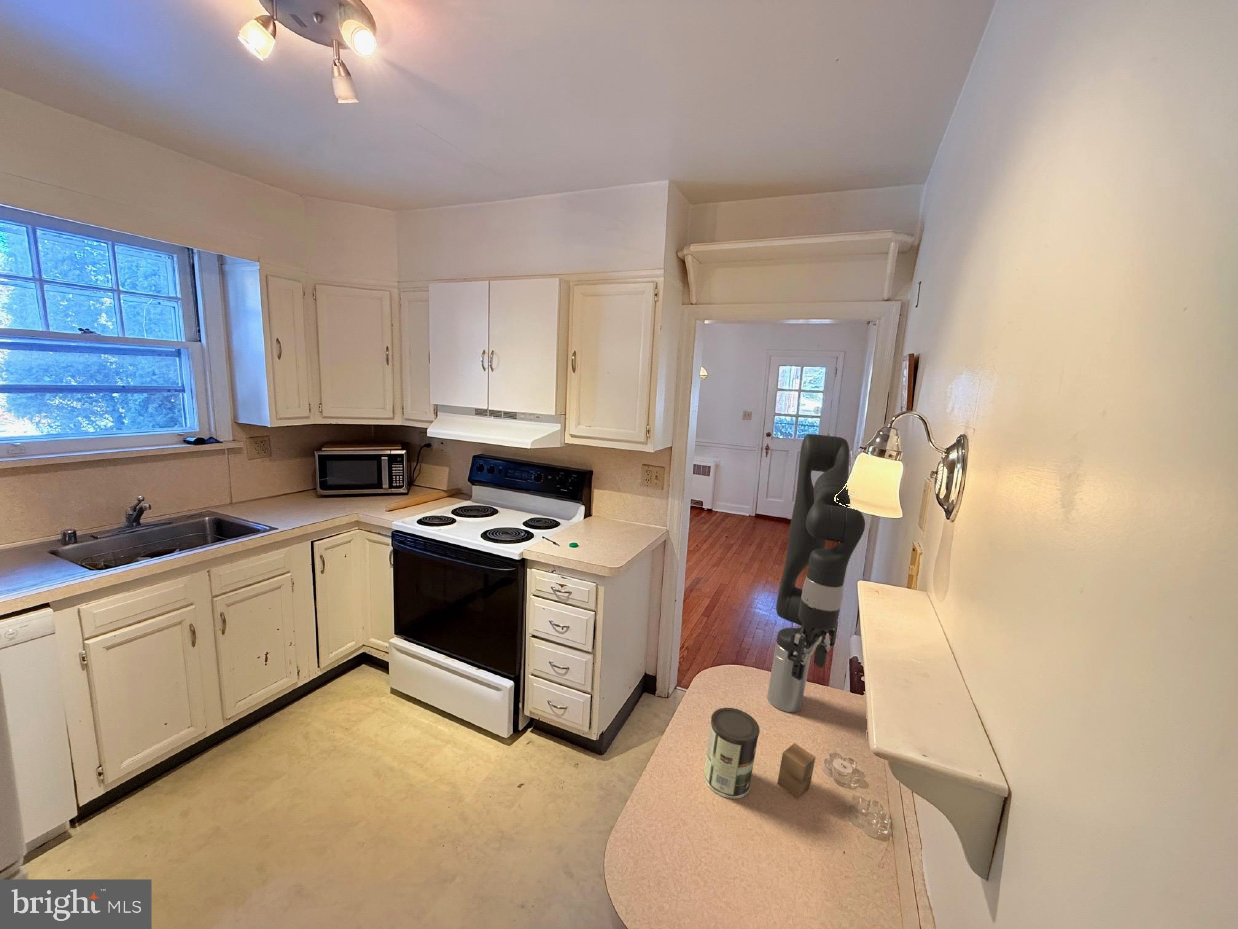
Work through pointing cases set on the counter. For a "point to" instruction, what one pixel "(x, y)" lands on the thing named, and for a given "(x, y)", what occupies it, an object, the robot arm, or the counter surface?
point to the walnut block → (796, 770)
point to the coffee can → (731, 752)
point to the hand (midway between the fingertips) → (808, 671)
